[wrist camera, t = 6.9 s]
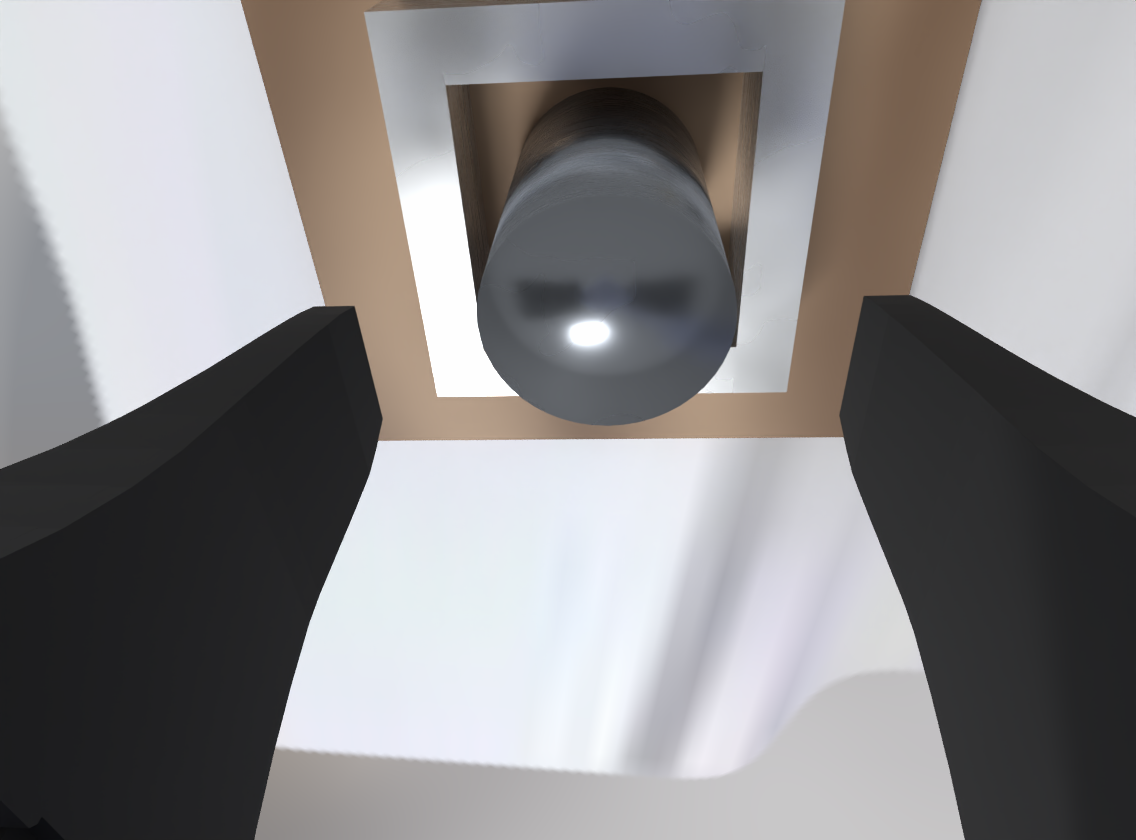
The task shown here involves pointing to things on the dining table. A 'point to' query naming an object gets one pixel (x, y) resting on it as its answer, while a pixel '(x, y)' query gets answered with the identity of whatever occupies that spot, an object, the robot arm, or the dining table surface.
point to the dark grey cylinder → (607, 265)
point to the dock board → (711, 115)
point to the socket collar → (594, 51)
